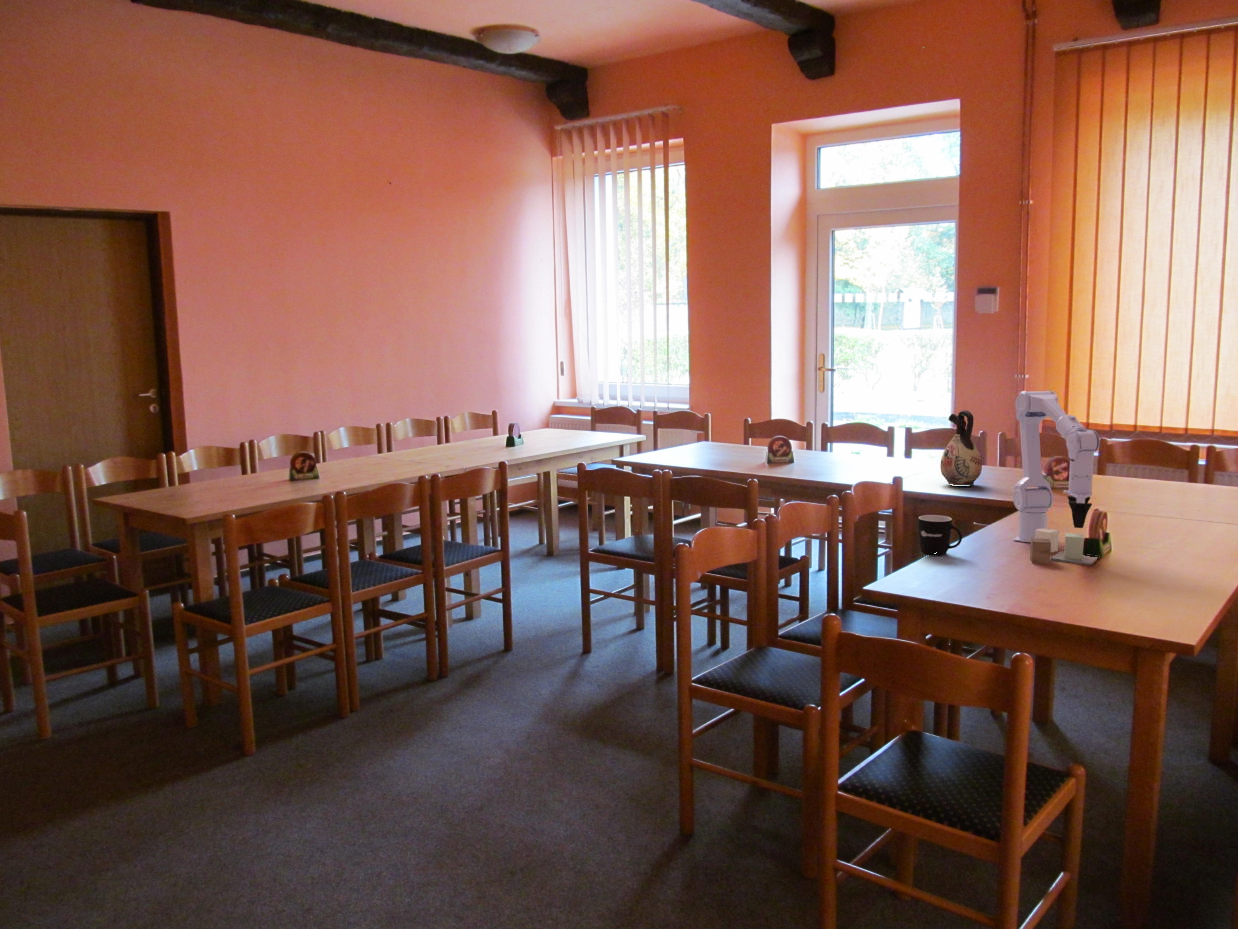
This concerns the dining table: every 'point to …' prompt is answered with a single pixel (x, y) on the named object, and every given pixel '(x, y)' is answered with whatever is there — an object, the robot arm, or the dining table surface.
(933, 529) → the mug
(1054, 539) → the cream block
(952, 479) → the ceramic jug
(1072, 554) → the green block
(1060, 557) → the coaster
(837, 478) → the dining table surface
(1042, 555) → the walnut block
